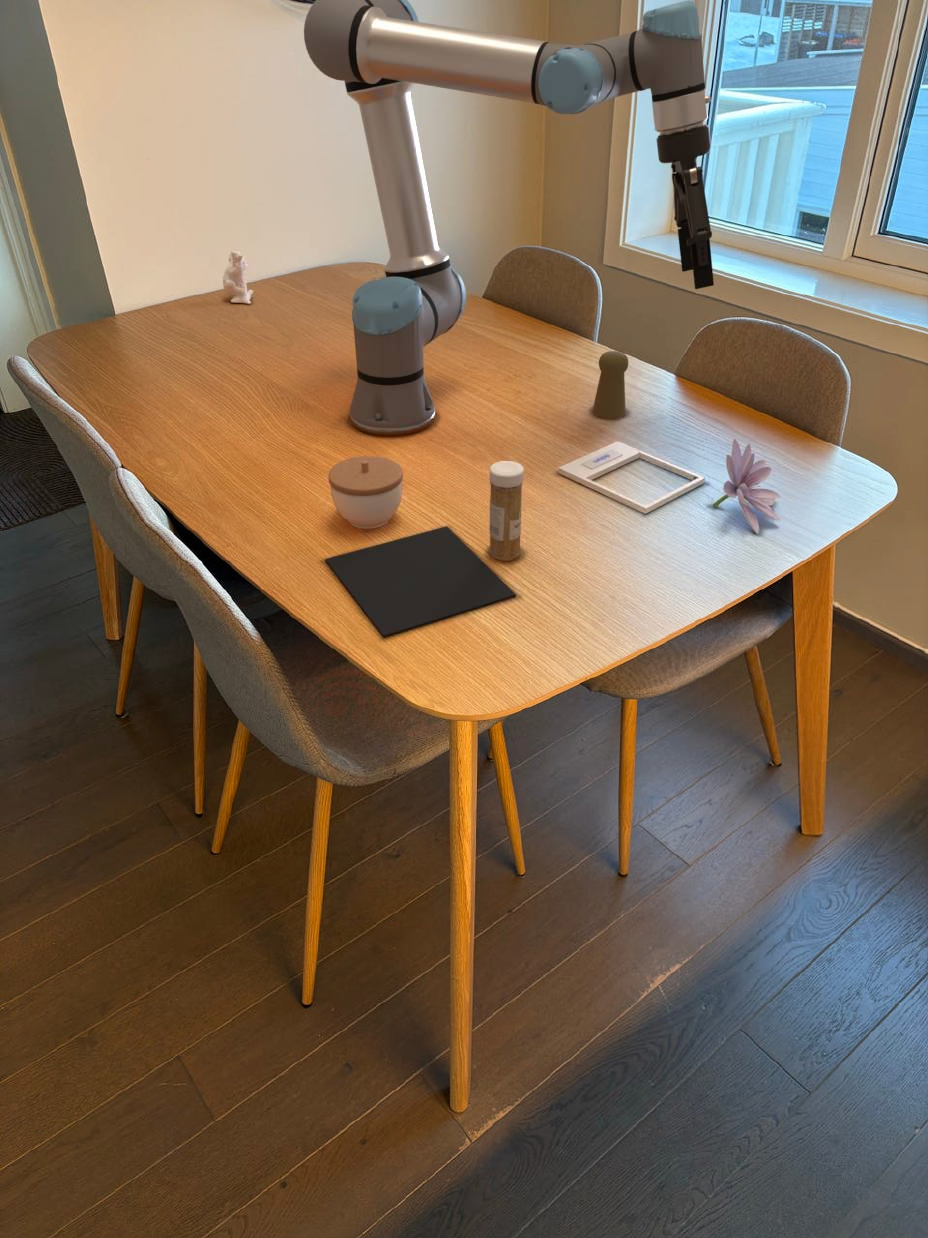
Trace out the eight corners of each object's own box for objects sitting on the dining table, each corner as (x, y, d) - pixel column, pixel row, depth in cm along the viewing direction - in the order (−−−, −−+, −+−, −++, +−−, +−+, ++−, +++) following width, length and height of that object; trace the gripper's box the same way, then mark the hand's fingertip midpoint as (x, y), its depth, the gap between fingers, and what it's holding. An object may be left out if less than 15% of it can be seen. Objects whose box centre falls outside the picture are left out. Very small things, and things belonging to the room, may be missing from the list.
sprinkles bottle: (524, 560, 130) (528, 473, 122) (492, 564, 129) (494, 476, 121) (515, 543, 134) (518, 457, 126) (484, 547, 133) (485, 461, 125)
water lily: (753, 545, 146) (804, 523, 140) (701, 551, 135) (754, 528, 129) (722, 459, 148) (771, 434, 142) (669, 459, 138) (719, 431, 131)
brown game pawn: (624, 420, 167) (630, 360, 161) (590, 417, 168) (595, 358, 162) (626, 406, 172) (632, 348, 166) (593, 404, 173) (598, 346, 167)
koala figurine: (259, 304, 221) (252, 251, 214) (231, 308, 219) (223, 254, 212) (250, 294, 227) (243, 242, 220) (223, 297, 225) (215, 245, 218)
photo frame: (617, 439, 158) (705, 476, 147) (617, 445, 159) (704, 482, 148) (558, 466, 150) (646, 507, 139) (557, 472, 151) (645, 513, 140)
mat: (325, 561, 130) (325, 558, 130) (446, 528, 137) (446, 526, 137) (383, 638, 116) (383, 635, 115) (516, 596, 123) (516, 594, 122)
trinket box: (333, 502, 143) (328, 446, 138) (403, 499, 144) (400, 443, 138) (331, 538, 135) (325, 480, 129) (406, 535, 135) (403, 477, 130)
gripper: (723, 126, 124) (737, 289, 134) (695, 117, 145) (708, 257, 156) (667, 140, 125) (684, 300, 136) (646, 129, 147) (663, 267, 157)
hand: (697, 278), depth 146 cm, fingers open, 13 cm apart
